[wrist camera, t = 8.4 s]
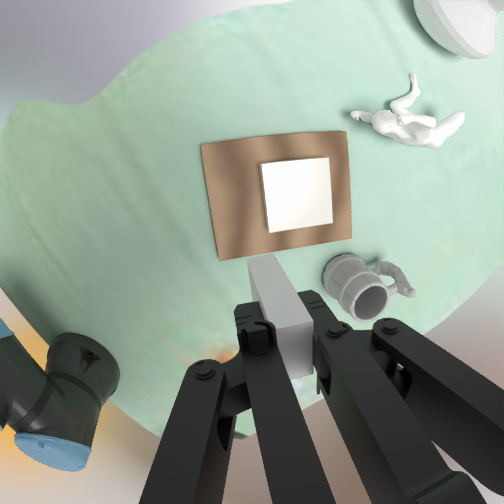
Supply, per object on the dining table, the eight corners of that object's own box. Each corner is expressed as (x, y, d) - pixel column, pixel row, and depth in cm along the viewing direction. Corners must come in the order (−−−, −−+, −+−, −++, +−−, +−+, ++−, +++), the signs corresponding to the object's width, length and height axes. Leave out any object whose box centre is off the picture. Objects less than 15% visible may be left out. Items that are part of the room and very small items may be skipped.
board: (219, 257, 41) (219, 260, 40) (200, 145, 35) (200, 144, 34) (348, 235, 43) (351, 238, 42) (342, 131, 37) (346, 131, 36)
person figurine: (465, 70, 25) (413, 118, 24) (480, 143, 32) (435, 206, 31) (400, 69, 36) (337, 113, 35) (422, 130, 43) (368, 183, 42)
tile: (269, 232, 38) (332, 223, 38) (261, 164, 34) (328, 157, 35) (266, 228, 39) (327, 219, 40) (258, 163, 36) (323, 156, 37)
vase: (429, 70, 34) (512, 58, 17) (380, -15, 28) (445, -56, 10) (475, 57, 34) (542, 51, 16) (435, -16, 27) (495, -39, 9)
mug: (316, 261, 44) (349, 299, 33) (380, 237, 44) (424, 265, 33) (325, 301, 46) (355, 343, 35) (384, 276, 47) (423, 309, 36)
